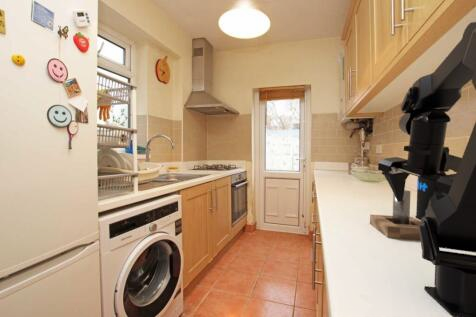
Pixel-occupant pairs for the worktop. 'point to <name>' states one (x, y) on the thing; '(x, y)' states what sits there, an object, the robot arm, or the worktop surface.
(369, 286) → the worktop surface
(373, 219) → the wooden square frame
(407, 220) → the metal pin
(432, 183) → the aerosol can
